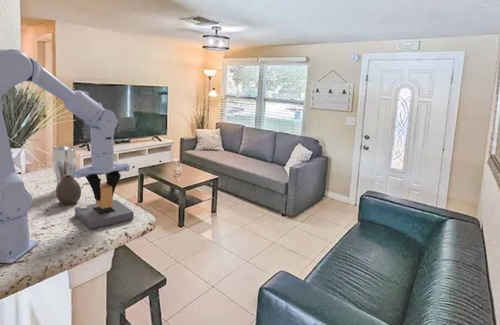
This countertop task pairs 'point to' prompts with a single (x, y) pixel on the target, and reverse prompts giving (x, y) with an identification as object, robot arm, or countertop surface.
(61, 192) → the vase
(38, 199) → the countertop surface
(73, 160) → the metal tumbler
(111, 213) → the socket
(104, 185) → the plug
